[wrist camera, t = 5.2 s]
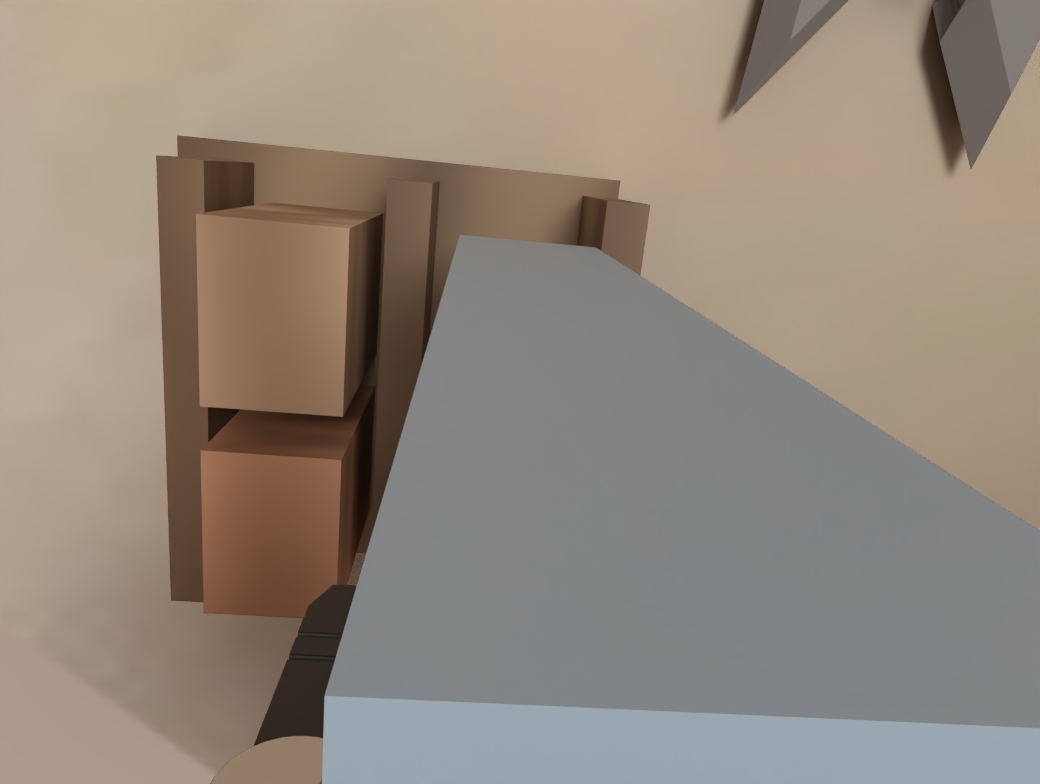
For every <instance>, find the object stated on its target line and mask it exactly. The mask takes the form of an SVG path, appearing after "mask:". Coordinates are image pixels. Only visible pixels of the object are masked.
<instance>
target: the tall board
mask: <svg viewBox="0 0 1040 784" xmlns="http://www.w3.org/2000/svg"><path fill="white" fill-rule="evenodd" d="M322 784H1040V531H1039V530H1037V529H1036V528H1034V527H1033V526H1031V525H1029V524H1028V523H1026V522H1025V521H1023V520H1022V519H1020V518H1018V517H1017V516H1015V515H1014V514H1012V513H1011V512H1009V511H1007V510H1006V509H1004V508H1003V507H1001V506H1000V505H998V504H997V503H995V502H993V501H992V500H990V499H989V498H987V497H986V496H984V495H982V494H981V493H979V492H978V491H976V490H975V489H973V488H972V487H970V486H968V485H967V484H965V483H964V482H962V481H961V480H959V479H957V478H956V477H954V476H953V475H951V474H950V473H948V472H946V471H945V470H943V469H942V468H940V467H939V466H937V465H936V464H934V463H932V462H931V461H929V460H928V459H926V458H925V457H923V456H921V455H920V454H918V453H917V452H915V451H914V450H912V449H911V448H909V447H907V446H906V445H904V444H903V443H901V442H900V441H898V440H896V439H895V438H893V437H892V436H890V435H889V434H887V433H885V432H884V431H882V430H881V429H879V428H878V427H876V426H875V425H873V424H871V423H870V422H868V421H867V420H865V419H864V418H862V417H860V416H859V415H857V414H856V413H854V412H853V411H851V410H849V409H848V408H846V407H845V406H843V405H842V404H840V403H839V402H837V401H835V400H834V399H832V398H831V397H829V396H828V395H826V394H824V393H823V392H821V391H820V390H818V389H817V388H815V387H814V386H812V385H810V384H809V383H807V382H806V381H804V380H803V379H801V378H799V377H798V376H796V375H795V374H793V373H792V372H790V371H788V370H787V369H785V368H784V367H782V366H781V365H779V364H778V363H776V362H774V361H773V360H771V359H770V358H768V357H767V356H765V355H763V354H762V353H760V352H759V351H757V350H756V349H754V348H752V347H751V346H749V345H748V344H746V343H745V342H743V341H742V340H740V339H738V338H737V337H735V336H734V335H732V334H731V333H729V332H727V331H726V330H724V329H723V328H721V327H720V326H718V325H717V324H715V323H713V322H712V321H710V320H709V319H707V318H706V317H704V316H702V315H701V314H699V313H698V312H696V311H695V310H693V309H691V308H690V307H688V306H687V305H685V304H684V303H682V302H681V301H679V300H677V299H676V298H674V297H673V296H671V295H670V294H668V293H666V292H665V291H663V290H662V289H660V288H659V287H657V286H655V285H654V284H652V283H651V282H649V281H648V280H646V279H645V278H643V277H641V276H640V275H638V274H637V273H635V272H634V271H632V270H630V269H629V268H627V267H626V266H624V265H623V264H621V263H620V262H618V261H616V260H615V259H613V258H612V257H610V256H609V255H607V254H605V253H604V252H602V251H601V250H599V249H598V248H596V247H585V246H575V245H564V244H553V243H543V242H532V241H521V240H511V239H500V238H489V237H479V236H468V235H460V236H459V239H458V243H457V246H456V250H455V253H454V257H453V260H452V263H451V267H450V270H449V274H448V277H447V280H446V284H445V287H444V291H443V294H442V297H441V301H440V304H439V308H438V311H437V314H436V318H435V321H434V325H433V328H432V331H431V335H430V338H429V342H428V345H427V348H426V352H425V355H424V359H423V362H422V366H421V369H420V372H419V376H418V379H417V383H416V386H415V389H414V393H413V396H412V400H411V403H410V406H409V410H408V413H407V417H406V420H405V423H404V427H403V430H402V434H401V437H400V440H399V444H398V447H397V451H396V454H395V457H394V461H393V464H392V468H391V471H390V474H389V478H388V481H387V485H386V488H385V492H384V495H383V498H382V502H381V505H380V509H379V512H378V515H377V519H376V522H375V526H374V529H373V532H372V536H371V539H370V543H369V546H368V549H367V553H366V556H365V560H364V563H363V566H362V570H361V573H360V577H359V580H358V583H357V587H356V590H355V594H354V597H353V600H352V604H351V607H350V611H349V614H348V618H347V621H346V624H345V628H344V631H343V635H342V638H341V641H340V645H339V648H338V652H337V655H336V658H335V662H334V665H333V669H332V672H331V675H330V679H329V682H328V686H327V689H326V692H325V696H324V730H323V764H322Z"/></svg>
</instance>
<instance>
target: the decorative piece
mask: <svg viewBox="0 0 1040 784" xmlns="http://www.w3.org/2000/svg"><path fill="white" fill-rule="evenodd" d="M847 1H848V0H764V3H763V7H762V10H761V14H760V18H759V22H758V25H757V29H756V33H755V37H754V40H753V44H752V48H751V52H750V55H749V59H748V63H747V67H746V70H745V74H744V78H743V82H742V85H741V89H740V93H739V97H738V100H737V104H736V108H735V112H734V114H735V113H736V112H737V111H738V110H739V109H740V108H741V107H742V106H743V105H744V104H745V103H746V102H747V101H748V100H749V99H750V98H751V97H752V96H753V95H754V94H755V93H756V92H757V91H758V90H759V89H760V88H761V87H762V86H763V85H764V84H765V83H766V82H767V81H768V80H769V79H770V78H771V77H772V76H773V75H774V74H775V73H776V72H777V71H778V70H779V69H780V68H781V67H782V66H783V65H784V64H785V63H786V62H787V61H788V60H789V59H790V58H791V57H792V56H793V55H794V54H795V53H796V52H797V51H798V50H799V49H800V48H801V47H802V46H803V45H804V44H805V43H806V42H807V41H808V40H809V39H810V38H811V37H812V36H813V35H814V34H815V33H816V32H817V31H818V30H819V29H820V28H821V27H822V26H823V25H824V24H825V23H826V22H827V21H828V20H829V19H830V18H831V17H832V16H833V15H834V14H835V13H836V12H837V11H838V10H839V9H840V8H841V7H842V6H843V5H844V4H845V3H846V2H847ZM932 8H933V12H934V17H935V22H936V27H937V31H938V36H939V41H940V45H941V49H942V53H943V58H944V62H945V66H946V70H947V74H948V78H949V82H950V86H951V90H952V94H953V99H954V103H955V107H956V111H957V115H958V119H959V123H960V127H961V131H962V136H963V140H964V144H965V148H966V152H967V156H968V160H969V164H970V168H972V166H973V165H974V163H975V161H976V159H977V157H978V155H979V153H980V151H981V150H982V148H983V146H984V144H985V142H986V140H987V138H988V137H989V135H990V133H991V131H992V129H993V127H994V125H995V123H996V122H997V120H998V118H999V116H1000V114H1001V112H1002V110H1003V109H1004V107H1005V105H1006V103H1007V101H1008V99H1009V97H1010V95H1011V94H1012V92H1013V90H1014V88H1015V86H1016V84H1017V82H1018V80H1019V78H1020V76H1021V74H1022V72H1023V70H1024V68H1025V67H1026V65H1027V63H1028V61H1029V59H1030V57H1031V55H1032V53H1033V51H1034V49H1035V47H1036V45H1037V43H1038V41H1039V40H1040V0H936V1H935V2H934V3H933V4H932Z"/></svg>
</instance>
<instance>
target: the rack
mask: <svg viewBox="0 0 1040 784" xmlns="http://www.w3.org/2000/svg"><path fill="white" fill-rule="evenodd" d="M177 144H178V157H172V156H156V160H157V190H158V220H159V250H160V280H161V311H162V341H163V371H164V401H165V431H166V461H167V491H168V521H169V551H170V581H171V601H191V602H204V595H203V545H202V495H201V450H202V449H203V448H204V447H205V446H206V444H207V443H208V442H209V441H210V440H211V439H212V438H213V437H214V436H215V435H216V434H217V433H218V432H219V431H220V430H221V429H222V428H223V427H224V426H225V425H226V424H227V423H228V422H229V421H230V420H231V419H232V418H233V417H234V416H235V415H236V414H237V413H238V412H239V411H240V410H241V409H228V408H215V407H201V406H200V395H199V344H198V294H197V244H196V214H199V213H206V212H212V211H219V210H226V209H233V208H239V207H246V206H253V205H260V204H267V203H283V204H293V205H303V206H314V207H324V208H335V209H345V210H355V211H366V212H376V213H383V228H382V250H381V271H380V293H379V314H378V336H377V353H376V355H375V357H374V359H373V361H372V363H371V365H370V367H369V369H368V370H367V372H366V374H365V376H364V378H363V380H362V382H361V384H360V385H370V386H375V400H374V421H373V443H372V464H371V486H370V507H369V512H368V516H367V519H366V522H365V526H364V529H363V532H362V535H361V539H360V542H359V545H358V549H357V552H360V553H367V549H368V546H369V543H370V539H371V536H372V532H373V529H374V526H375V522H376V519H377V515H378V512H379V509H380V505H381V502H382V498H383V495H384V492H385V488H386V485H387V481H388V478H389V474H390V471H391V468H392V464H393V461H394V457H395V454H396V451H397V447H398V444H399V440H400V437H401V434H402V430H403V427H404V423H405V420H406V417H407V413H408V410H409V406H410V403H411V400H412V396H413V393H414V389H415V386H416V383H417V379H418V376H419V372H420V369H421V366H422V362H423V359H424V355H425V352H426V348H427V345H428V342H429V338H430V335H431V331H432V328H433V325H434V321H435V318H436V314H437V311H438V308H439V304H440V301H441V297H442V294H443V291H444V287H445V284H446V280H447V277H448V274H449V270H450V267H451V263H452V260H453V257H454V253H455V250H456V246H457V243H458V239H459V236H460V235H468V236H479V237H489V238H500V239H511V240H521V241H532V242H543V243H553V244H564V245H575V246H585V247H596V248H598V249H599V250H601V251H602V252H604V253H605V254H607V255H609V256H610V257H612V258H613V259H615V260H616V261H618V262H620V263H621V264H623V265H624V266H626V267H627V268H629V269H630V270H632V271H634V272H635V273H637V274H638V275H640V273H641V266H642V259H643V252H644V245H645V238H646V231H647V223H648V216H649V209H650V205H647V204H642V203H636V202H631V201H625V200H619V199H618V194H619V186H620V181H617V180H607V179H597V178H587V177H577V176H568V175H558V174H548V173H538V172H529V171H519V170H509V169H499V168H490V167H480V166H470V165H460V164H451V163H441V162H431V161H421V160H412V159H402V158H392V157H382V156H372V155H363V154H353V153H343V152H333V151H324V150H314V149H304V148H294V147H285V146H275V145H265V144H255V143H246V142H236V141H226V140H216V139H206V138H197V137H187V136H177Z"/></svg>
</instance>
